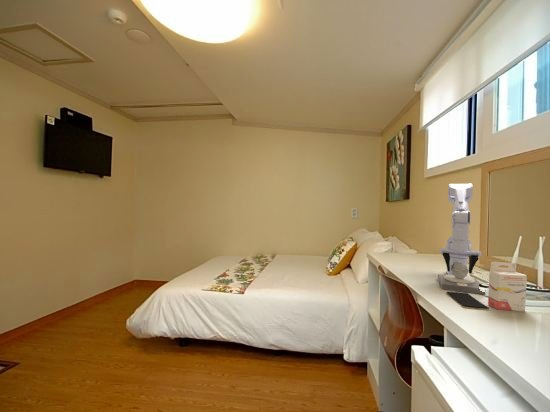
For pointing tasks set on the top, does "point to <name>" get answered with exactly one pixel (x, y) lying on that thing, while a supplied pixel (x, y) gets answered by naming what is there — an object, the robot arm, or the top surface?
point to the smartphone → (467, 301)
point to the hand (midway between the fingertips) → (459, 272)
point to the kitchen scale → (459, 284)
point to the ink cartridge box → (506, 287)
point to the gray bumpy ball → (459, 269)
